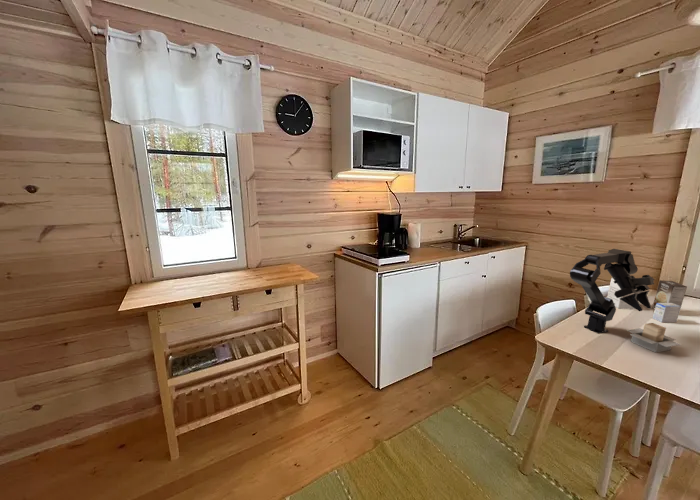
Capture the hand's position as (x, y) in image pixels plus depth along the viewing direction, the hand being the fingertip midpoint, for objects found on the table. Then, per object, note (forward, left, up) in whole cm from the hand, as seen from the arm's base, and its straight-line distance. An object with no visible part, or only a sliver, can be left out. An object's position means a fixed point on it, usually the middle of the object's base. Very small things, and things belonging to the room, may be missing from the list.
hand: (645, 309), depth 123 cm
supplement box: (+35, +30, -14) cm, 48 cm away
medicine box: (+36, +11, -14) cm, 40 cm away
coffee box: (+51, +19, -14) cm, 56 cm away
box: (-1, -5, -14) cm, 15 cm away
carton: (-1, -5, -14) cm, 15 cm away
